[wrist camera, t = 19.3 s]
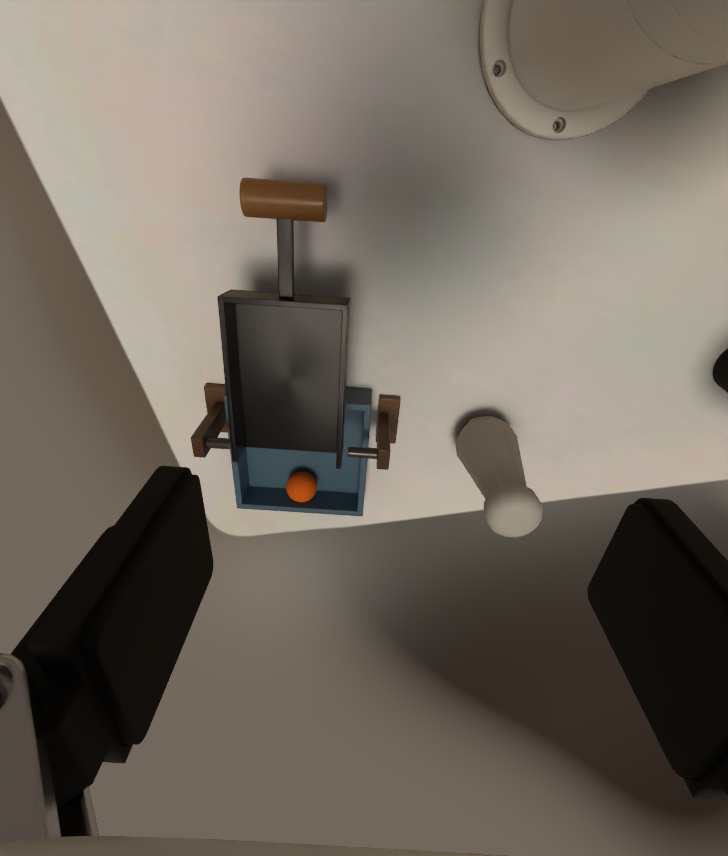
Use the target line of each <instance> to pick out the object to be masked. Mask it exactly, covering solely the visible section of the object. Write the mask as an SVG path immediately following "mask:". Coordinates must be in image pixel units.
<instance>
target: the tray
mask: <svg viewBox="0 0 728 856" xmlns="http://www.w3.org/2000/svg"><path fill="white" fill-rule="evenodd" d="M371 399H372V389H366V388H351V387H346V402H345V423H344V445H343V456H342V464H341V469H336V454H337V453H328V452H312V451H297V450H282V449H267V448H252V447H245V448H244V450H243V452H242V454H241V456H240V457H239V459H238V461H237V462H232V469H233V478H234V486H235V494H236V503H237V508H243V509H258V510H274V511H289V512H304V513H320V514H335V515H351V516H363V505H364V492H365V479H366V467H367V458H356V457H348V456H347V455H348V447H362V448H368V441H369V429H370V416H371ZM224 401H225V411H226V419H227V427H228V436H229V439H230V431H229V420H228V408H227V397H226V393H225V395H224ZM230 452H231V449H230ZM231 461H232V454H231ZM297 472H307V473H309V474H311V475H312V476H313V477H314V479H315V480H316V483H317V490H316V493H315V495H314V496H313V498H312V499H310V500H309V501H306V502H296V501H294V500H292V499H291V498H290V497H289V495H288V494H287V491H286V484H287V481H288V479H289V478H290V477H291V476H292V475H293V474H295V473H297Z"/></svg>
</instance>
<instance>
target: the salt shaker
mask: <svg viewBox="0 0 728 856" xmlns="http://www.w3.org/2000/svg"><path fill="white" fill-rule="evenodd" d="M456 451H457V456H458V457H459V459H460V460H461V462H462V463H463V465H464V466H465V468H466V469H467V471H468V473H469V474H470V476H471V477H472V479H473V480H474V482H475V483H476V485H477V487H478V488H479V490H480V491H481V493H482V494H483V496H484V497H485V499H486V500H485V502H484V514H485V519H486V520H487V523H488V524H489V526H490V527H491V528H492V530H493V531H494V532H495V533H498V534H500V535H502V536H506V537H519V536H523V535H526V534H528V533H530V532H531V531H533V530H534V529H536V527H537V526H538V525H539V523H540V521H541V520H542V513H543V509H542V504H541V502H540V501H539V499H538V497H537V496H536V494H535V493H534V491H533V490H532V489H530V488H528V487H526V482H525V476H524V471H523V466H522V461H521V456H520V451H519V446H518V440H517V436H516V434H515V433H514V431H513V430H512V428H511V427H510V426H509V424H507V423H505V422H503V421H501V420H500V419H498V418H495V417H492V416H483V417H476V418H471V419H470V421H469V422H468V423H467V424H466V426H465V427H464V428H463V429H462V430H461V432H460V434H459V436H458V438H457V440H456Z"/></svg>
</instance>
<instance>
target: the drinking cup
mask: <svg viewBox="0 0 728 856" xmlns="http://www.w3.org/2000/svg"><path fill="white" fill-rule="evenodd" d="M713 376H714V380H715V382H716V383H717V384H718V385H719V386H720V387H722V388H723V389H724V390H725V391H727V392H728V349H727V350H726V351H725V352H724V353H723V354H722V355H721V356H720V357H719V359H718V360H717V362H716V364H715V366H714V370H713Z"/></svg>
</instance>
